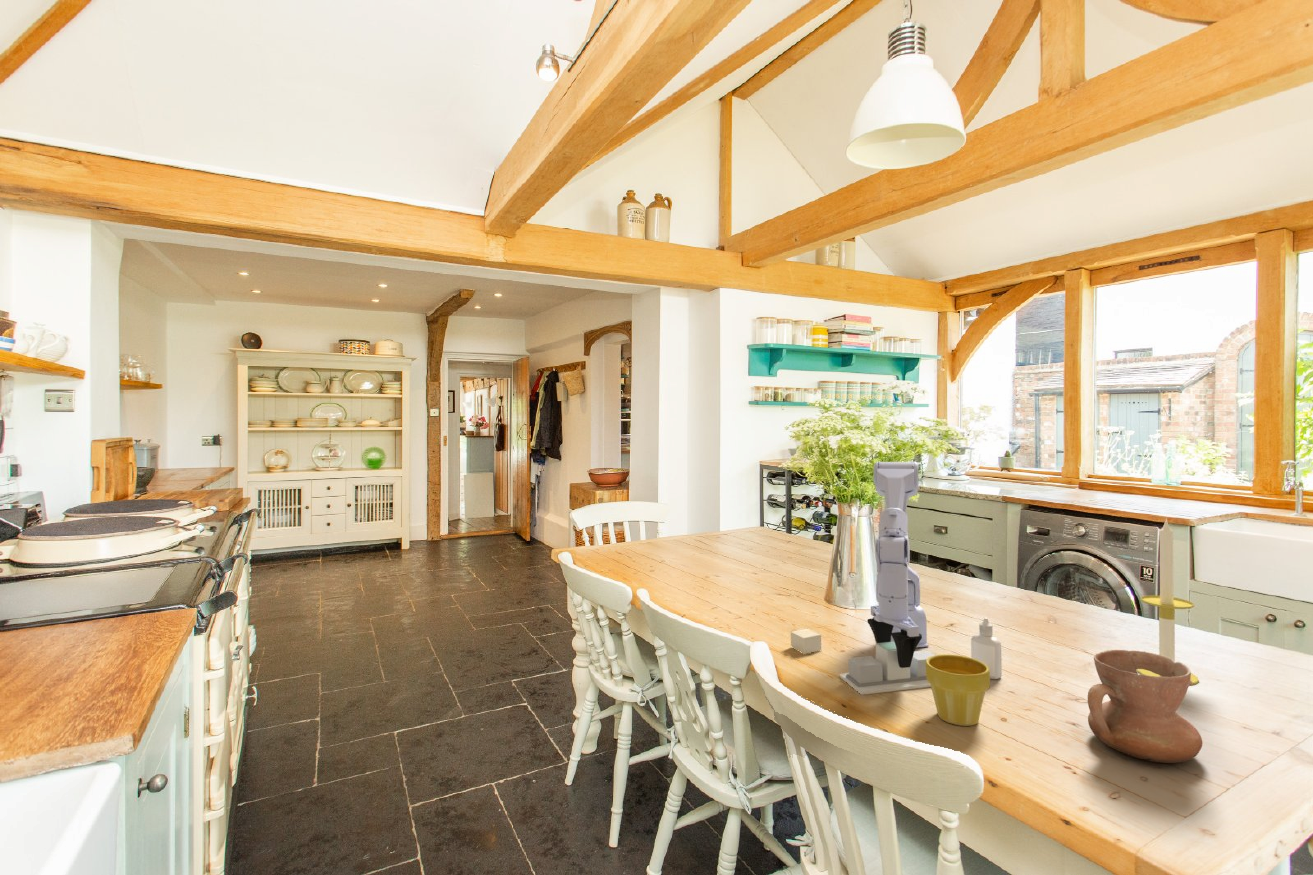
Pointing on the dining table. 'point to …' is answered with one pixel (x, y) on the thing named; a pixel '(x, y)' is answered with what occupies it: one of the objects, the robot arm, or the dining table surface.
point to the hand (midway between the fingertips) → (894, 659)
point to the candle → (1166, 601)
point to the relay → (806, 640)
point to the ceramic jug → (1142, 706)
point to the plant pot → (958, 687)
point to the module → (890, 662)
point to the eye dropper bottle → (987, 649)
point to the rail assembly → (870, 678)
